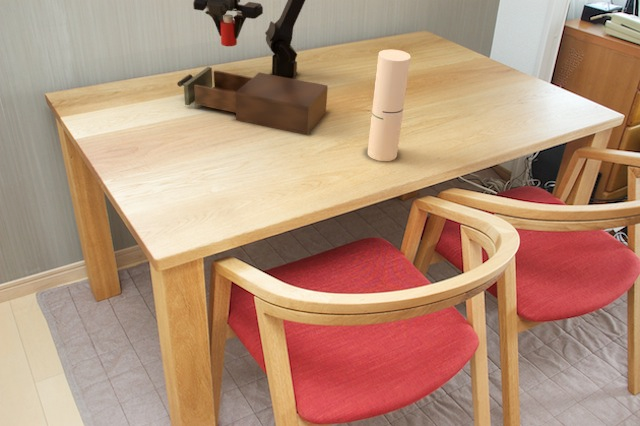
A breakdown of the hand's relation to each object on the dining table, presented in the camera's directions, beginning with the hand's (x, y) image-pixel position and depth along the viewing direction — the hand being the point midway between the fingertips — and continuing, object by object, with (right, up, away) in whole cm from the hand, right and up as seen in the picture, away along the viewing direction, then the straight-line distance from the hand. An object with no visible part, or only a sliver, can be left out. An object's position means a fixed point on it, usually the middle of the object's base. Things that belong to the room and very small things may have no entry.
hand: (228, 36), depth 186 cm
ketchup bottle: (0, -2, +1) cm, 2 cm away
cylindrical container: (+41, -36, -26) cm, 60 cm away
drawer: (-1, -19, -8) cm, 21 cm away
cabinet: (+16, -24, -12) cm, 31 cm away
